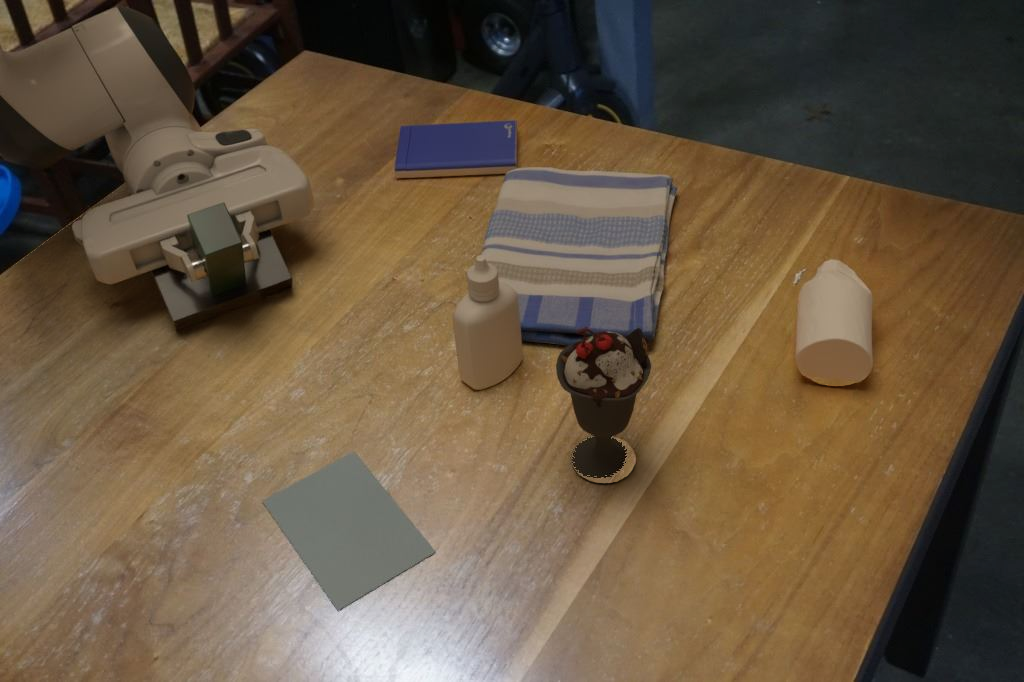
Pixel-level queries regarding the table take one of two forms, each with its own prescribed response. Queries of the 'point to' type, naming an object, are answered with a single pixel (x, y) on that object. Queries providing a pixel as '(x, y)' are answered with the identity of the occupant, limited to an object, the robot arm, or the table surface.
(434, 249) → the table surface
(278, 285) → the green post on base
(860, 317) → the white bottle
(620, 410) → the sundae
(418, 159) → the blue hardcover book
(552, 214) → the dish towel
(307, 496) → the gray rectangular card
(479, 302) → the eye dropper bottle
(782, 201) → the table surface
